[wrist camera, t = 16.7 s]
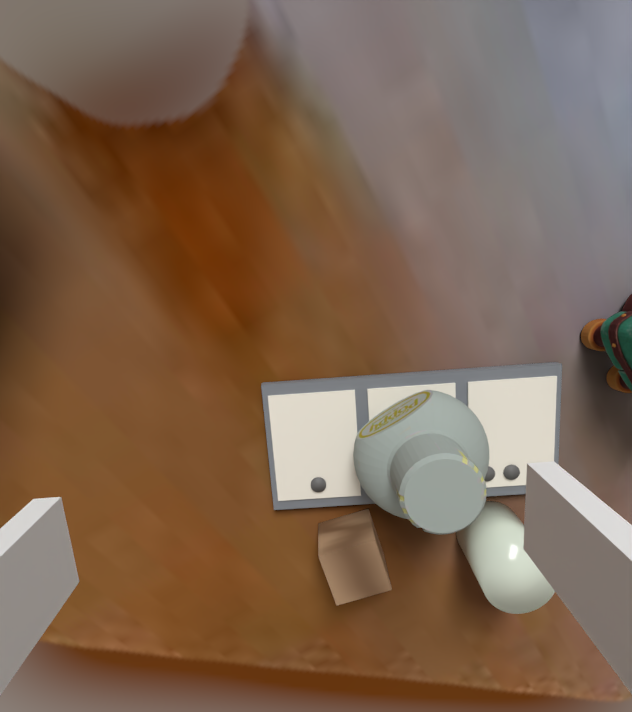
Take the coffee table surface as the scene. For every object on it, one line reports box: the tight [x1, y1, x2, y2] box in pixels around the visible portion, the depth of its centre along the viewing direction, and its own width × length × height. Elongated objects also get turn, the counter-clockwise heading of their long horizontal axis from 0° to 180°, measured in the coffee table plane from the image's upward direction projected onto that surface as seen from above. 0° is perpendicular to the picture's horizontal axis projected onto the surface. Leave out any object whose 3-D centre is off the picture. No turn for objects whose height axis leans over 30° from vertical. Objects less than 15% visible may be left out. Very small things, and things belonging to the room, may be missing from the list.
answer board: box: [261, 362, 562, 510], centre depth 40 cm, size 26×12×1 cm, turn 94°
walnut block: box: [318, 509, 392, 605], centre depth 40 cm, size 5×5×5 cm
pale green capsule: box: [456, 501, 555, 614], centre depth 39 cm, size 6×6×7 cm
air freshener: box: [353, 390, 489, 534], centre depth 34 cm, size 11×8×10 cm
